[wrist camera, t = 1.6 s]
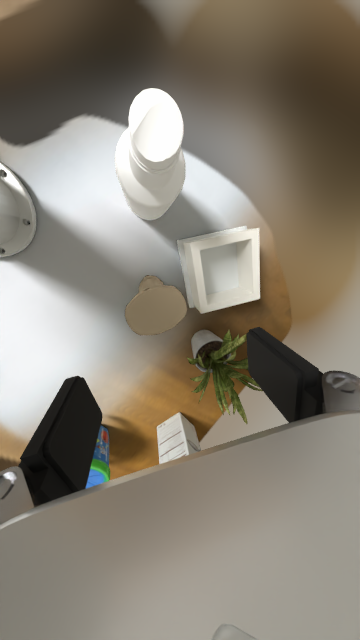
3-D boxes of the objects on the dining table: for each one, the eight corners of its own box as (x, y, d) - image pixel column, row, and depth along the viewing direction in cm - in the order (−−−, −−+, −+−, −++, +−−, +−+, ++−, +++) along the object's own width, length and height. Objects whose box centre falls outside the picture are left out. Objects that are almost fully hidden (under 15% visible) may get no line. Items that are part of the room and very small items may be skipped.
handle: (127, 278, 32) (116, 304, 18) (161, 263, 32) (176, 278, 18) (139, 302, 34) (138, 343, 20) (172, 288, 34) (192, 319, 20)
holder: (176, 240, 31) (183, 239, 25) (243, 226, 32) (264, 222, 27) (188, 306, 36) (197, 318, 30) (246, 292, 37) (264, 300, 32)
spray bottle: (178, 184, 28) (228, 102, 12) (159, 228, 30) (180, 211, 13) (134, 155, 26) (123, 3, 9) (117, 205, 28) (82, 150, 11)
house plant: (246, 350, 43) (301, 407, 28) (194, 380, 43) (221, 452, 28) (223, 299, 37) (278, 338, 22) (163, 335, 37) (177, 396, 22)
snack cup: (107, 456, 47) (99, 508, 38) (62, 454, 44) (40, 510, 35) (124, 411, 43) (119, 458, 34) (74, 405, 40) (54, 455, 30)
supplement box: (194, 425, 49) (210, 481, 38) (171, 439, 49) (180, 499, 38) (179, 410, 46) (192, 466, 34) (155, 426, 46) (160, 486, 35)
